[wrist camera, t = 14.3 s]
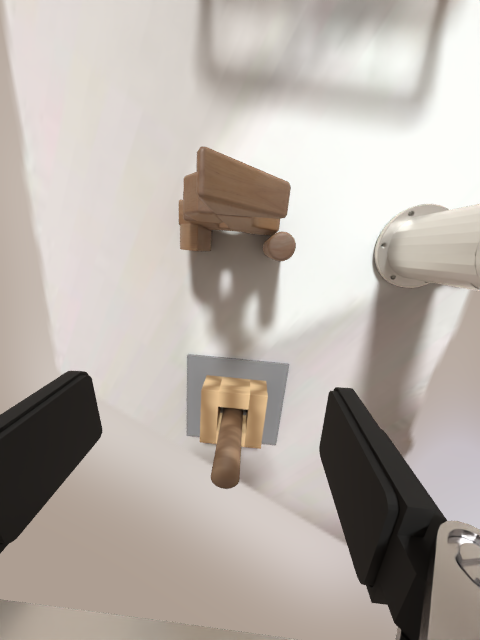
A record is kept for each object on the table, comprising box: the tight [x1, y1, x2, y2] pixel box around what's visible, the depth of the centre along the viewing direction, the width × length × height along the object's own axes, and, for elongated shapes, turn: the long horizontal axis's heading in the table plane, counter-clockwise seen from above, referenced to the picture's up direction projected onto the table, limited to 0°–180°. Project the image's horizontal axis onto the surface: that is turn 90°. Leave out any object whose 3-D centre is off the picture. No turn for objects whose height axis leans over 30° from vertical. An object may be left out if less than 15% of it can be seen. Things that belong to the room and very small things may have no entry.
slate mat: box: [187, 354, 289, 445], centre depth 46 cm, size 20×20×1 cm
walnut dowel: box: [211, 407, 243, 489], centre depth 38 cm, size 4×4×16 cm
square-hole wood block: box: [200, 375, 268, 449], centre depth 44 cm, size 12×12×5 cm
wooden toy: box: [179, 147, 296, 261], centre depth 25 cm, size 16×7×25 cm, turn 85°
